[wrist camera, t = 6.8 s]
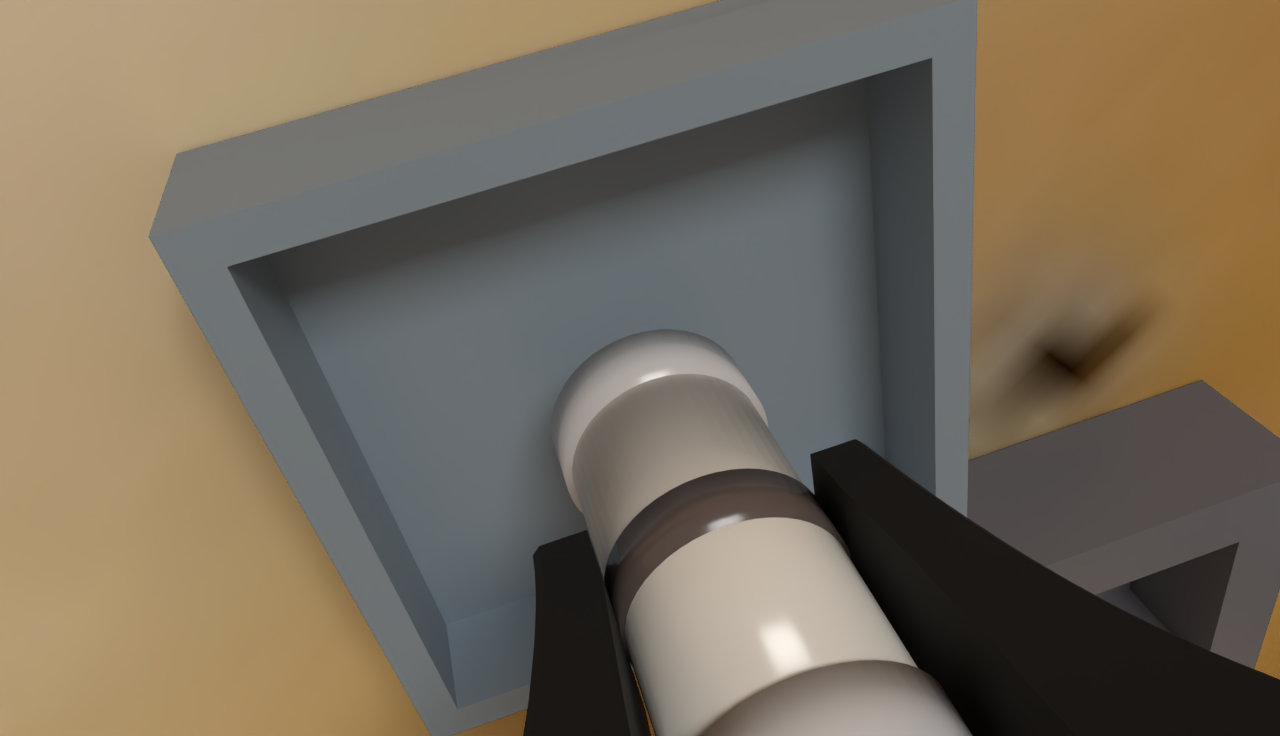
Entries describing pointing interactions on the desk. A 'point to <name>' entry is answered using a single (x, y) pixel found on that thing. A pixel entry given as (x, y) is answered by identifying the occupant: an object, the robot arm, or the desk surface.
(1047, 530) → the grey square holder
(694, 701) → the fuse
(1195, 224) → the desk surface
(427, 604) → the parts tray
